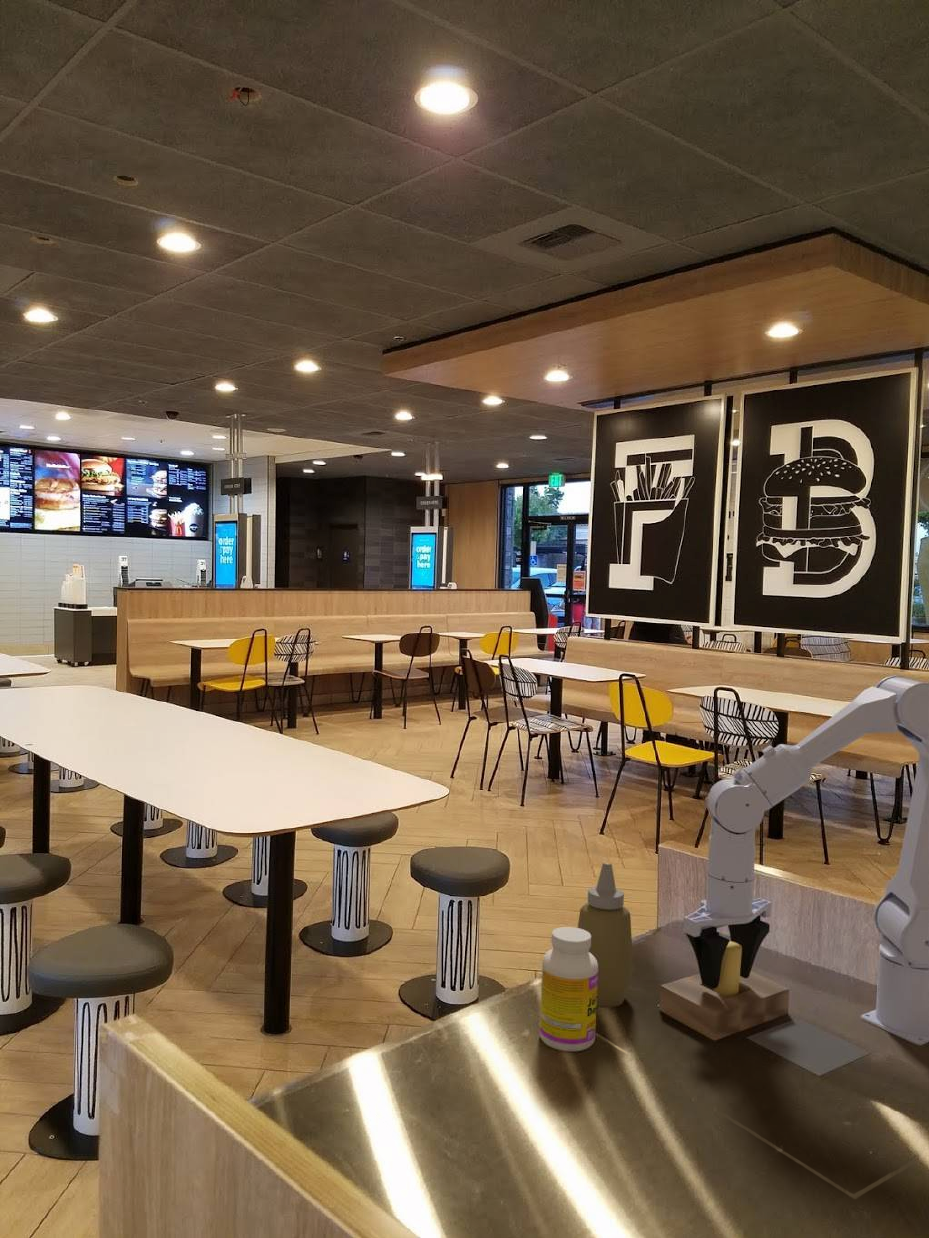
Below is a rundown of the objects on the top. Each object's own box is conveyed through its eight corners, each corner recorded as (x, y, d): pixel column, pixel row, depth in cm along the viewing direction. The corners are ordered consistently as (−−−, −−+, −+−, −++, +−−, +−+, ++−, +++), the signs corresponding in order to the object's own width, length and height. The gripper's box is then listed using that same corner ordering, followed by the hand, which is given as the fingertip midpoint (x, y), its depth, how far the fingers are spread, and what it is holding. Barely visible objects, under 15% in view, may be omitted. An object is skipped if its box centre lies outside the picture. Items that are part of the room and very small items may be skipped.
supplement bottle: (593, 1057, 106) (597, 947, 105) (536, 1049, 107) (540, 941, 106) (596, 1030, 112) (601, 926, 112) (542, 1023, 113) (546, 920, 113)
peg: (722, 1005, 120) (727, 938, 119) (741, 1015, 117) (746, 947, 117) (707, 1011, 118) (712, 943, 117) (726, 1021, 116) (731, 952, 115)
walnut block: (731, 988, 125) (733, 963, 125) (787, 1015, 118) (789, 988, 118) (659, 1012, 118) (660, 985, 117) (714, 1042, 110) (715, 1014, 110)
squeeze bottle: (641, 996, 122) (647, 862, 121) (617, 1019, 115) (624, 878, 114) (586, 980, 126) (591, 851, 126) (560, 1001, 119) (565, 865, 119)
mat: (797, 1020, 117) (798, 1017, 117) (870, 1055, 108) (870, 1052, 108) (746, 1039, 111) (746, 1037, 111) (818, 1078, 103) (818, 1075, 103)
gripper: (742, 858, 124) (737, 957, 125) (667, 874, 116) (662, 980, 117) (786, 873, 119) (781, 976, 119) (710, 891, 110) (705, 1002, 111)
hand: (725, 980), depth 118 cm, fingers open, 5 cm apart
